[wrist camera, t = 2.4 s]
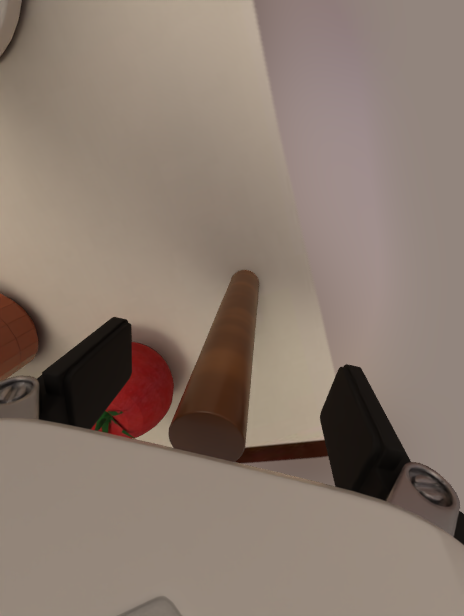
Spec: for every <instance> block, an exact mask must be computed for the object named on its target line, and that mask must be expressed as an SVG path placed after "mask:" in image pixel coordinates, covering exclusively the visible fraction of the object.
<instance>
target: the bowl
mask: <svg viewBox="0 0 464 616" xmlns="http://www.w3.org/2000/svg"><path fill="white" fill-rule="evenodd" d="M37 352H38V337H37V331H36V328H35V325H34V323H33V321H32V319H31V318H30V316H29V315H28V314H27V312H26V311H25V310H24V309H23V308H22V307H21V306H20V305H18V304H17V303H16V302H14V301H13V300H11V299H10V298H8V297H6V296H4V295H3V294H1V293H0V381H2V380H4V379H6V378H8V377H9V376H11V375H12V374H13V373H15V372H16V371H18V370H19V369H21V368H22V367H23V366H25V365H26V364H28V363H29V362H30V361H32V360H33V359H34V357H35V356H36V354H37Z"/></svg>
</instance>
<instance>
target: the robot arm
mask: <svg viewBox="0 0 464 616" xmlns="http://www.w3.org/2000/svg"><path fill="white" fill-rule="evenodd" d="M21 3H22V0H0V56H1V55H2V54H3V52H4V51H5V49H6V48H7V46H8V44H9V43H10V41H11V40H12V37H13V34H14V31H15V29H16V26H17V23H18V20H19V14H20V8H21ZM131 374H132V336H131V324H130V323H128V321H127V320H126V319H121V318H116V317H113V318H111V319H110V320H109V321H107V322H106V323H105V324H104V325H102V326H101V327H100V328H98V329H97V330H96V331H95V332H93V333H92V334H91V335H89V336H88V337H87V338H86V339H84V340H83V341H82V342H81V343H79V344H78V345H77V346H75V347H74V348H73V349H72V350H70V351H69V352H68V353H66V354H65V355H64V356H63V357H61V358H60V359H59V360H57V361H56V362H55V363H54V364H52V365H51V366H50V367H48V368H47V369H46V370H45V371H43V372H42V375H41V376H40V377H39V378H37V379H36V378H34V377H30V376H16V377H11V378H8V379H4V380H2V381H0V616H464V514H463V513H462V512H460V511H459V509H460V502H459V498H458V496H457V494H456V492H455V491H454V489H453V488H452V486H451V485H450V484H449V483H448V482H447V481H446V480H445V479H444V478H443V477H442V476H441V475H440V474H438V473H437V472H436V471H434V470H433V469H431V468H429V467H428V466H426V465H423V464H420V463H416V462H411V461H410V459H409V457H408V456H407V454H406V452H405V450H404V448H403V446H402V444H401V442H400V441H399V439H398V437H397V435H396V433H395V431H394V429H393V427H392V425H391V424H390V422H389V420H388V418H387V416H386V414H385V412H384V410H383V409H382V407H381V405H380V403H379V401H378V399H377V398H376V395H375V394H374V392H373V390H372V388H371V386H370V384H369V382H368V380H367V378H366V377H365V375H364V373H363V371H362V369H361V368H360V367H356V366H352V365H345V366H344V367H340V368H339V370H338V372H337V374H336V377H335V379H334V382H333V384H332V386H331V389H330V391H329V394H328V396H327V399H326V401H325V404H324V406H323V408H322V411H321V415H320V421H321V425H322V430H323V434H324V439H325V443H326V447H327V452H328V456H329V460H330V465H331V469H332V474H333V478H334V482H335V487H334V486H331V485H327V484H323V483H319V482H315V481H311V480H307V479H303V478H298V477H295V476H290V475H286V474H282V473H278V472H273V471H269V470H265V469H261V468H257V467H253V466H248V465H244V464H240V463H236V462H231V461H227V460H223V459H218V458H214V457H210V456H206V455H201V454H197V453H193V452H188V451H184V450H180V449H175V448H171V447H167V446H162V445H158V444H153V443H149V442H144V441H140V440H136V439H131V438H127V437H122V436H118V435H113V434H109V433H105V432H100V431H95V430H91V429H92V427H93V426H94V425H95V423H96V422H97V421H98V420H99V418H100V417H101V416H102V414H103V413H104V412H105V410H106V409H107V408H108V406H109V405H110V404H111V402H112V401H113V400H114V398H115V397H116V396H117V395H118V393H119V392H120V391H121V389H122V388H123V387H124V385H125V384H126V383H127V381H128V380H129V379H130V377H131Z"/></svg>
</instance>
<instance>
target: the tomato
mask: <svg viewBox="0 0 464 616" xmlns="http://www.w3.org/2000/svg"><path fill="white" fill-rule="evenodd" d="M173 388H174V383H173V377H172V375H171V372H170V370H169V367H168V365H167V363H166V362H165V360H164V359H163V358H162V357H161V356H160V355H159V354H158V353H157V352H156V351H155V350H153V349H151V348H150V347H148V346H145V345H143V344H140V343H136V342H132V374H131V377H130V379H129V380H128V381H127V383H126V384H125V385H124V387H123V388H122V389H121V391H120V392H119V393H118V395H117V396H116V397H115V398H114V400H113V401H112V402H111V404H110V405H109V406H108V408H107V409H106V410H105V412H104V413H103V414H102V416H101V417H100V418H99V420H98V421H97V422H96V423H95V425H94V426H93V427H92V429H91V430H95V431H100V432H105V433H109V434H113V435H118V436H122V437H127V438H131V439H132V438H134V439H135V438H136V437H139V436H141V435H143V434H145V433H146V432H148V431H149V430H151V429H152V428H153V427H155V426H156V425H157V424H158V423H159V422H160V421H161V420H162V419H163V417H164V416H165V415H166V413H167V412H168V410H169V408H170V405H171V403H172V396H173Z"/></svg>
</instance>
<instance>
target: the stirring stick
mask: <svg viewBox="0 0 464 616" xmlns="http://www.w3.org/2000/svg"><path fill="white" fill-rule="evenodd" d="M258 292H259V280H258V277H257V276H256V275H255V274H254V273H253V272H251V271H249V270H240V271H238V272H236V273H235V274H234V275H233V276H232V278H231V281H230V283H229V285H228V288H227V290H226V293H225V295H224V297H223V300H222V302H221V305H220V307H219V309H218V312H217V314H216V317H215V319H214V321H213V324H212V326H211V329H210V331H209V334H208V336H207V338H206V341H205V343H204V346H203V348H202V350H201V353H200V355H199V358H198V360H197V362H196V365H195V367H194V370H193V372H192V374H191V377H190V379H189V382H188V384H187V386H186V389H185V391H184V394H183V396H182V398H181V401H180V403H179V406H178V408H177V410H176V413H175V415H174V418H173V420H172V422H171V425H170V427H169V439H170V442H171V444H172V446H173V448H175V449H180V450H184V451H188V452H193V453H197V454H201V455H206V456H210V457H214V458H218V459H223V460H227V461H231V462H235V461H236V460H237V459H239V457H240V456H241V455H242V453H243V452H244V449H245V443H246V432H247V420H248V408H249V397H250V385H251V374H252V362H253V350H254V339H255V327H256V315H257V304H258Z"/></svg>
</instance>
